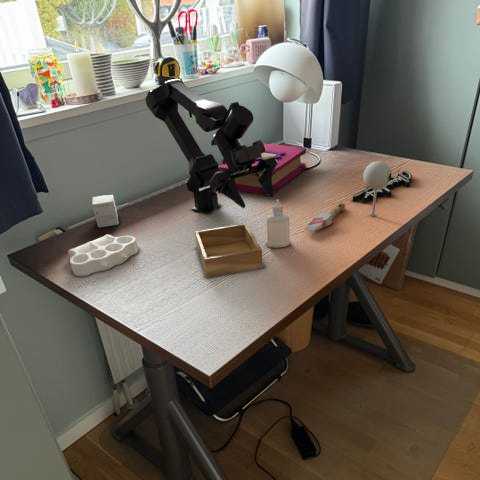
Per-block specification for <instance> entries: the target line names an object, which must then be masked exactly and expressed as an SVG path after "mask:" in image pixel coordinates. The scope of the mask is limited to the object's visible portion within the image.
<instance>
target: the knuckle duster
mask: <svg viewBox="0 0 480 480" xmlns="http://www.w3.org/2000/svg"><path fill="white" fill-rule="evenodd" d="M138 251H139V248H138V243H137V239H136V237H135V236H133V235H120V236H112V234H104V236H100V237H98V238H96V239H94V240H91V241H87V242H86V243H83V244H81V245H79V246H75V247H73V248H70V249H68V250H67V254H68V256H69V258H70V259H69V263H70V267H71V270H72V273H73V274H74V275H75V276H78V277H87V276H89V275H91V274H94V273H97V272H104V271H107V270H110V269H111V268H113V267H115V266H117V265H121V264H123V263H124V262H126V261H127V260H128V259H129V257H131V256H134V255H136V254H137V253H139V252H138Z"/></svg>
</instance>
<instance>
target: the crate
mask: <svg viewBox="0 0 480 480" xmlns="http://www.w3.org/2000/svg"><path fill="white" fill-rule="evenodd" d="M194 235H195V243H196V249H197V252H198V256H199V259H200V262H201V264H202V267H203V270H204V273H205V277H206V278H212V277H218V276H223V275H229V274H234V273H241V272H245V271H252V270H259V269H262V268H264V267H263V266H264V265H263V249H262V247H261V246H260V244H259V242H258V240H257V239H256V237H255V235H254V233H253V232H252V230H251V229H250V227H249V225H248V223H246V222H244V223H240V224H233V225H227V226H220V227H213V228H207V229H202V230H196V231H194Z"/></svg>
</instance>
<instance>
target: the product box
mask: <svg viewBox="0 0 480 480" xmlns="http://www.w3.org/2000/svg"><path fill="white" fill-rule="evenodd" d="M91 201H92V203H91V205H92V209H93V213H94V218H95V221H96V226H97V228H99V229H100V228H106V227H111V226H118V225H119V216H118V211H117V206H116V201H115V197H114V194H105V195H98V196H92V199H91Z"/></svg>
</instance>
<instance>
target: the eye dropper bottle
mask: <svg viewBox="0 0 480 480" xmlns="http://www.w3.org/2000/svg"><path fill="white" fill-rule="evenodd" d="M283 208H284V206H283V204H281V201H280V199H275V204H273V205H272V213H271V214H269V215H268V216H267V217H266V238H267V239H266V240H267V246H268V247H269V248H277V249H279V248H285V247H288V246H290V243H291V242H290V240H291V238H290V235H291V234H290V232H291V231H290V216H289V215H288V214H286V213H284V209H283Z"/></svg>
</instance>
